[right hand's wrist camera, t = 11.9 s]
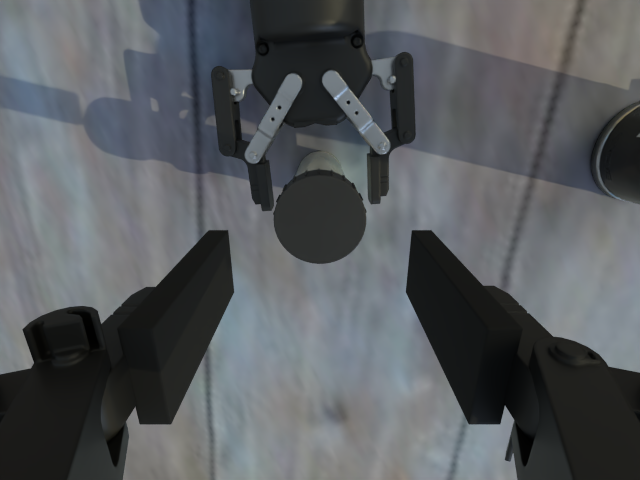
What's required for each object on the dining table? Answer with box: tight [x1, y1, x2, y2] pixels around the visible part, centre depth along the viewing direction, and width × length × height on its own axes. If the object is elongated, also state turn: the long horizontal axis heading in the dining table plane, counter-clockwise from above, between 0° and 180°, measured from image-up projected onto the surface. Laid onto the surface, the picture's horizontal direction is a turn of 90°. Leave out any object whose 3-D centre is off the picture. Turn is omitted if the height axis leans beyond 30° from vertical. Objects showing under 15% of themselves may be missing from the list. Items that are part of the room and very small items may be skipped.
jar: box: [295, 151, 345, 176], centre depth 27 cm, size 4×4×15 cm
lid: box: [273, 168, 366, 264], centre depth 20 cm, size 5×5×2 cm
